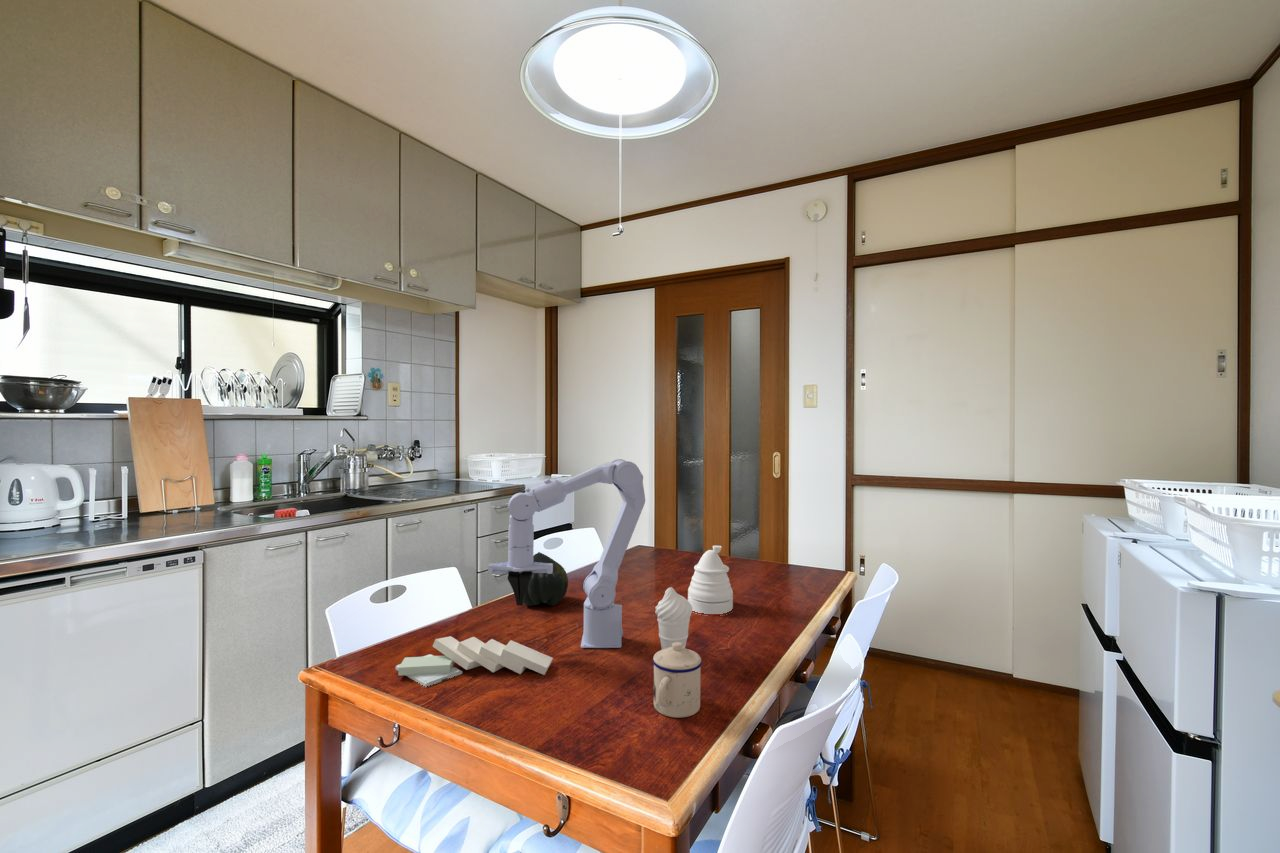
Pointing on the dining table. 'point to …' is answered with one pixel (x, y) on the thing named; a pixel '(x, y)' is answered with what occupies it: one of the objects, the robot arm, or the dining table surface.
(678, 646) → the teacup with lid
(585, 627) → the robot arm
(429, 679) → the hard drive
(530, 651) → the domino
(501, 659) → the domino
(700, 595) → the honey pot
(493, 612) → the dining table surface
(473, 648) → the domino
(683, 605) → the soft serve ice cream cone
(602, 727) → the dining table surface
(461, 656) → the domino
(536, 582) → the squash
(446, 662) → the domino
